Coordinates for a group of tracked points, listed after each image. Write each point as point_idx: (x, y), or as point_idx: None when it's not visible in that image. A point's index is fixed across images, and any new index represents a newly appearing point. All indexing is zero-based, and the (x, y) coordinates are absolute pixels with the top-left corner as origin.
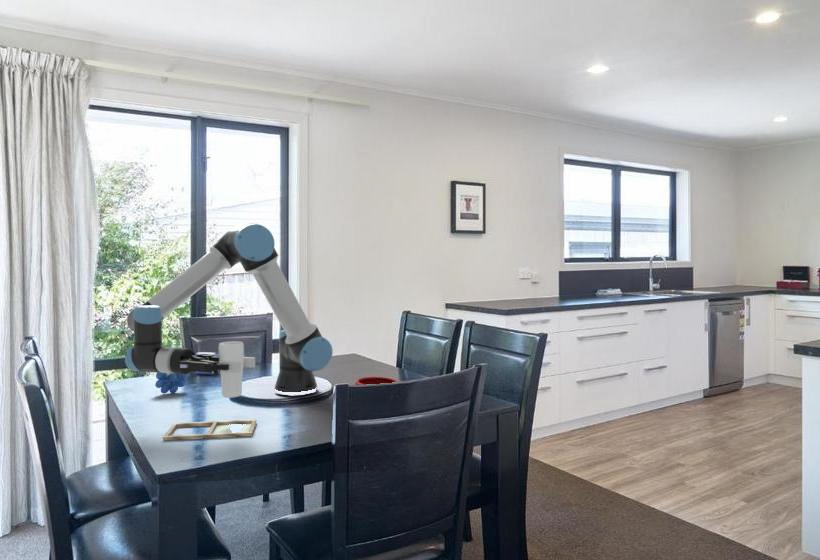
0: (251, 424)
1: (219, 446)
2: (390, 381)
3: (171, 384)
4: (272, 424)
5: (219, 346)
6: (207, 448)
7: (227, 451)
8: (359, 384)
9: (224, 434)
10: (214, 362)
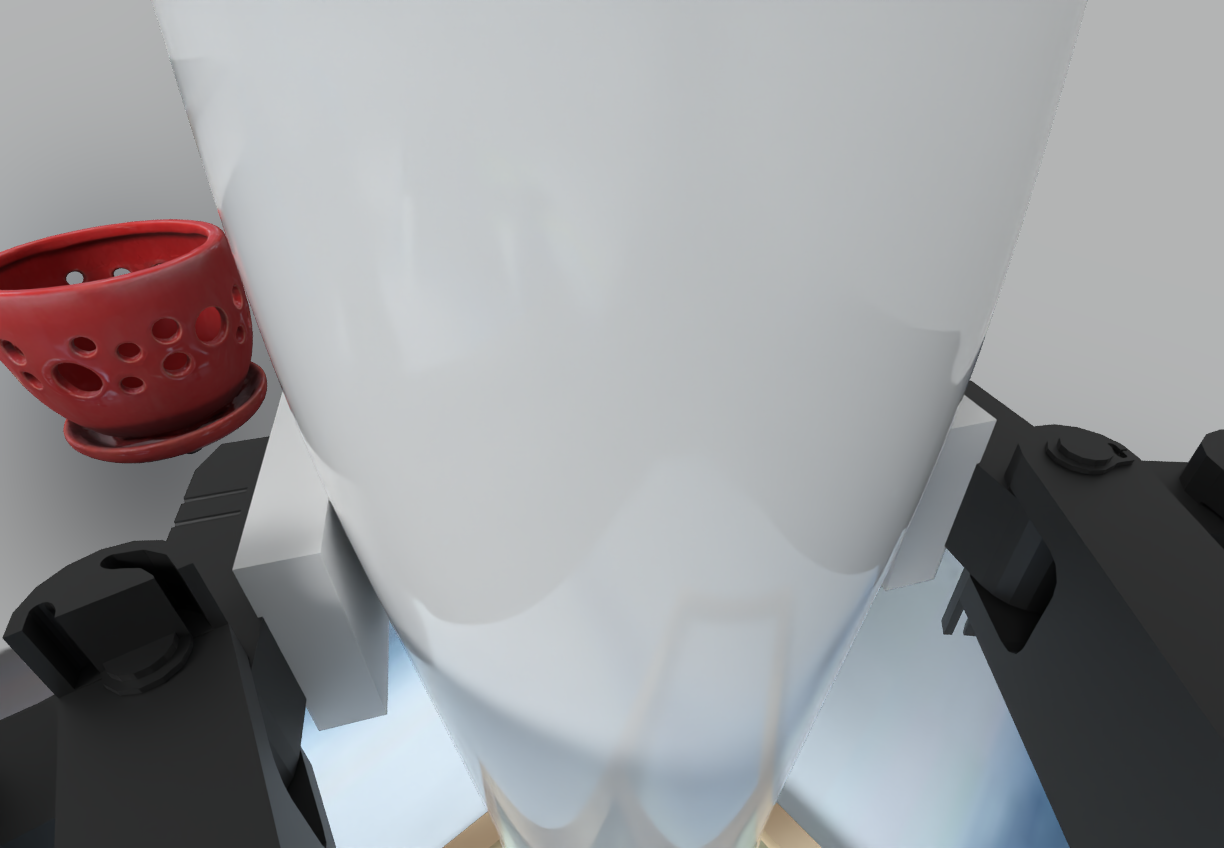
0: (495, 839)
1: (911, 718)
2: (21, 264)
3: None
4: (358, 774)
5: (1075, 29)
6: (996, 754)
7: (908, 619)
8: (182, 264)
9: (800, 828)
10: (1112, 445)
